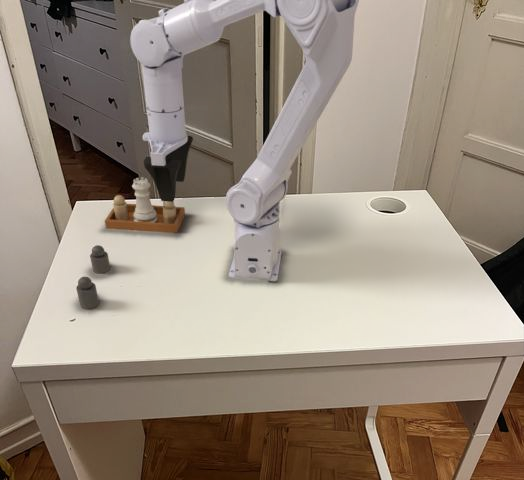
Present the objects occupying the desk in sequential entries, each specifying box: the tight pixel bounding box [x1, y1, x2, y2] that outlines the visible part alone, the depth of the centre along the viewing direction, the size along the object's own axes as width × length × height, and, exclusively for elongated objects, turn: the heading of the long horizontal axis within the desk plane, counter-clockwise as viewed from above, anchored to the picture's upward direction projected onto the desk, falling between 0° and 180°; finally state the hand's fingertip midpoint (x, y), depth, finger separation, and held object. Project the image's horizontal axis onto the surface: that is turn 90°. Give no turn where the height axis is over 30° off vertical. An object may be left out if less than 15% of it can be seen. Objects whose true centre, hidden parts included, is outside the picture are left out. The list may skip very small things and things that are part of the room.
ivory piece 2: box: [162, 200, 177, 224], centre depth 104 cm, size 2×2×5 cm
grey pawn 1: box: [75, 276, 100, 310], centre depth 85 cm, size 3×3×5 cm
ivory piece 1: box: [112, 194, 129, 221], centre depth 105 cm, size 2×2×5 cm
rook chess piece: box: [131, 176, 158, 223], centre depth 103 cm, size 4×4×8 cm
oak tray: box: [104, 203, 186, 234], centre depth 105 cm, size 7×13×2 cm, turn 84°
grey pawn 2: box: [89, 244, 111, 275], centre depth 92 cm, size 3×3×5 cm
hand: (173, 190), depth 96 cm, fingers open, 7 cm apart
